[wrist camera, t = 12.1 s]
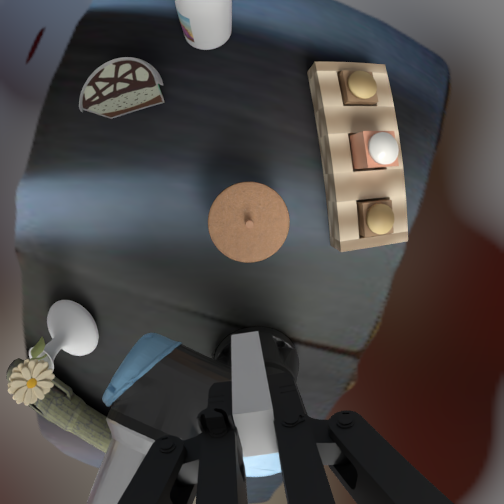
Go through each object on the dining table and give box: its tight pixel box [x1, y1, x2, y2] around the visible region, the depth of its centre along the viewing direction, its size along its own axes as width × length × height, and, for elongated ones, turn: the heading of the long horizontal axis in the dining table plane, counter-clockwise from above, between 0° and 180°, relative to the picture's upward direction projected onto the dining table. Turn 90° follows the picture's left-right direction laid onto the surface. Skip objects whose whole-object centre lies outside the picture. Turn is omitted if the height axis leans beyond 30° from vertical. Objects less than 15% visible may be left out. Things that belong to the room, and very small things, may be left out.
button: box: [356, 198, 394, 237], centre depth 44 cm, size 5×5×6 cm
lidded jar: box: [208, 182, 289, 263], centre depth 43 cm, size 11×11×9 cm
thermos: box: [6, 358, 112, 453], centre depth 49 cm, size 9×12×35 cm
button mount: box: [307, 62, 408, 252], centre depth 44 cm, size 29×12×5 cm, turn 8°
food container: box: [79, 57, 165, 119], centre depth 37 cm, size 12×6×10 cm, turn 101°
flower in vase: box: [8, 300, 99, 406], centre depth 37 cm, size 13×11×25 cm
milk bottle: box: [175, 0, 232, 50], centre depth 30 cm, size 8×8×20 cm
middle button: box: [349, 131, 399, 169], centre depth 39 cm, size 5×5×6 cm
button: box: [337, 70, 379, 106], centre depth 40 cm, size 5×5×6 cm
